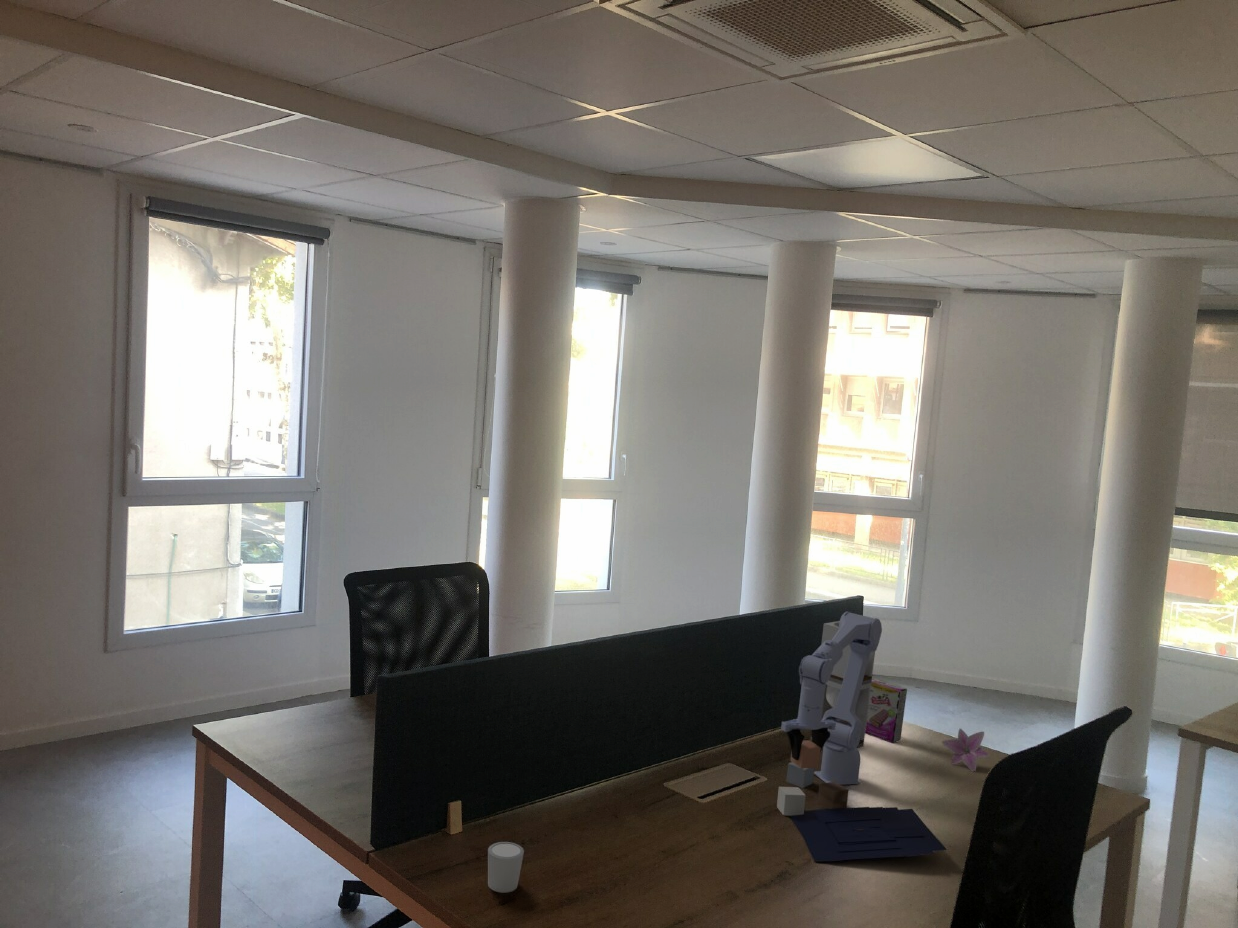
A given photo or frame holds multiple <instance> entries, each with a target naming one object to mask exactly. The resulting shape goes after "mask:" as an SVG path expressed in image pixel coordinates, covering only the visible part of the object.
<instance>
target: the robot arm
mask: <svg viewBox="0 0 1238 928" xmlns="http://www.w3.org/2000/svg"><path fill="white" fill-rule="evenodd" d="M839 621H840V622H839V630H838V631H837V633H836V634H835V636H834V637H833V638H832V640H826V641H825V642H823V644H822V645H821V644H820V645H819V647H817V649H816V650H815V651H814V652H813V653H812V654H811V655H810V654H809V655H806V656H804V657H803V658H801V661H800V664H799V667H798V675H799V684H800V685H801V689H800V696H799V697H800V698H799V704H798V705H799V706H798V711H797V712H798V713H797V717H796V718H793V719H789V720H786V721H781V726H780V729H781V731H782V732H784V733H786V735H787V738H788V741H789V744H790V750H791V751H792V758H794V759H795V760H799V757H800V750H801V745H802V742H803V741H804V740H805V738H806V736H805V735H804V734H802V731H811V733H812V741H811V742H813V743H814V744H816V745H817V746H819V747H820V748H821V750H820V753H822V757H821V764H820V765H821V766H820V770H819V771H815V770H814V775H815V776H816V777H818V778H819V779H820V780H822V781H823V782H824V783H829V782H833V781H834V782H836V783H837V784H839V785H841V786H843V785H844V786H845V785H859V784H860V781H859V777H860V767H861V754H860V750H859V748H856V747H857V746H858V744H859V742H860V737H861V727H862V723H861V721H860V720H859V718H858V717H857V716H856V714H855V712H854V711H855V708H856V704H857V700H858V696H859V693H860V689H861V685H862V682H863V678H864V674H865V671H866V667H867V663H868V660H869V656H870V653H871V652H872V651H875V652H876V651H877V649H878V646H879V644H880V639H881V637H882V631H883V629H882V628H883V627H882V622H881V620H880V618H873V617H870V616H865V615H861V614H857V613H854V612H853V613H852V612H850V611H845V612H844V613H842V615H841V616H840V619H839ZM847 645H849V646H850V648H851V653H850V657H849V661H848V664H847V668H846V671H845V675H844V679H843V682H842V686H841V690H840V693H839V697H838V701H837V704H836V707H835V708H832V709H830V710H828V711H826V712H825V714H824V717H823V719H822V710H823V702H824V693H825V685H826V682H827V681H828V680H829V678H830V676H831V673H832V671H833V667H834V665H835V664H836V663H837V662H838V661H839V660H840V659H841V657H842V656H843V649H844V648H845V647H846V646H847ZM834 719H840V720H843V721H846V722H849V723H851V725H850V724H847V723H843V722H840V721H837V720H834ZM822 749H823V750H822Z"/></svg>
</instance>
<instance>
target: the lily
mask: <svg viewBox="0 0 1238 928" xmlns="http://www.w3.org/2000/svg"><path fill="white" fill-rule="evenodd" d="M984 737H985V731H979V732H975V733H973V734H971V735H969V736H968V734H967V733H966V731H964V730H963V729H962V728H959V730H958V734H957V738H952V739H945V740H942V741H941V744H942V745H943V746H944V747H946V748H947V749H948V750H950V751H951V752H953V756H952V757H951V760H950V765H951V764H952V765H951V766H954V765H956V764H959V763H961V762H963V763H964V764H965V766H966V767H967V768H968V770H970V771H971V772H972V771H975V772H976V769H977V763H978V758H986V757H990V756H991V755H990V753H989V752H987V751H986V750H985V749H983V748H982V747H981V745H982V742H983V739H984Z"/></svg>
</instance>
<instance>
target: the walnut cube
mask: <svg viewBox="0 0 1238 928" xmlns="http://www.w3.org/2000/svg"><path fill="white" fill-rule="evenodd" d="M849 791H850V790H849V788H847V787H845V786H843V785H839V784H837V783H836V782H834V781H833V782H829V783H825V782H824V783H820V784H819V787H818V793H817V803H816V804H817V805H820V806H821V807H823V808H824V809H838V808H848V800H849V799H848V797H849Z"/></svg>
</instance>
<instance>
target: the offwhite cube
mask: <svg viewBox="0 0 1238 928" xmlns="http://www.w3.org/2000/svg"><path fill="white" fill-rule="evenodd" d="M800 788H801V787H799V786H797V787H796V786H795V787H793V786H778V791H777V792H778V793H777V802H776V807H777V809H778V810H779V811H780V813H781V814H782V815H783V816H788V817H790V816H792V815H802V814H804V811H805V804H806V794H805V792H804V791H803V790H802V789H800Z"/></svg>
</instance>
